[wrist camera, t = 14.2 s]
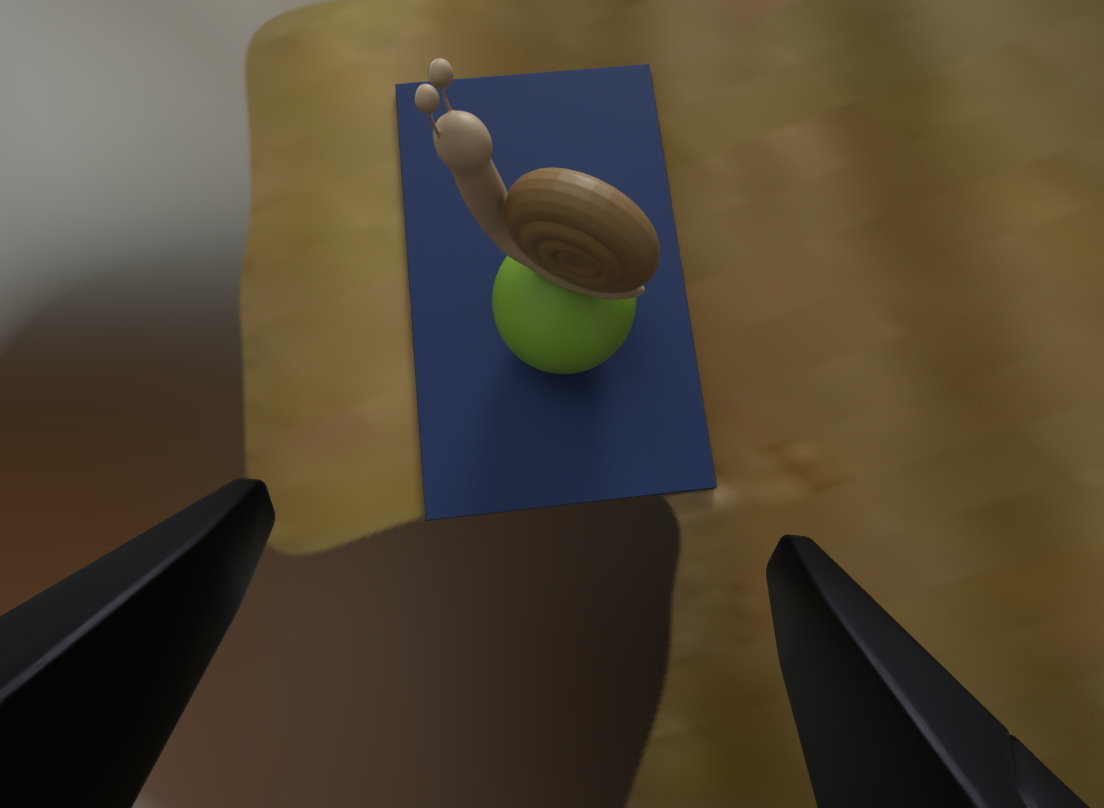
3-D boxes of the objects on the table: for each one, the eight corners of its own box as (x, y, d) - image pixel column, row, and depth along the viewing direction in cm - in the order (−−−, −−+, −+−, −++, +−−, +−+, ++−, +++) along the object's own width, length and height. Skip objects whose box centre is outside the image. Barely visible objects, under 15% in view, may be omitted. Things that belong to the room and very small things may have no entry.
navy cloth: (714, 487, 22) (716, 487, 21) (427, 520, 21) (425, 520, 21) (647, 68, 25) (649, 63, 24) (396, 88, 24) (395, 83, 24)
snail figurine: (508, 239, 23) (474, -31, 11) (642, 294, 23) (754, 79, 11) (456, 347, 22) (357, 181, 10) (594, 406, 22) (660, 307, 10)
